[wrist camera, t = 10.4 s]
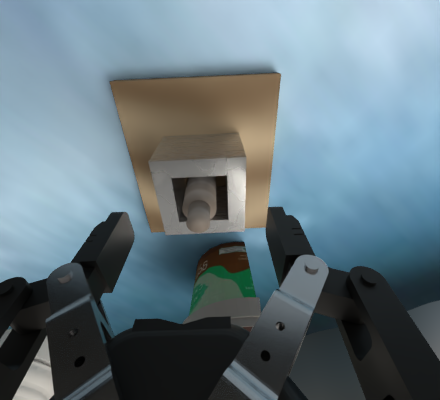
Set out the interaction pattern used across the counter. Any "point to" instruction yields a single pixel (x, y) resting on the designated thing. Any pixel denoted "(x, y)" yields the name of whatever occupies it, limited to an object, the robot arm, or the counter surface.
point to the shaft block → (201, 124)
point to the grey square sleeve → (200, 167)
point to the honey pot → (36, 376)
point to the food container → (225, 287)
